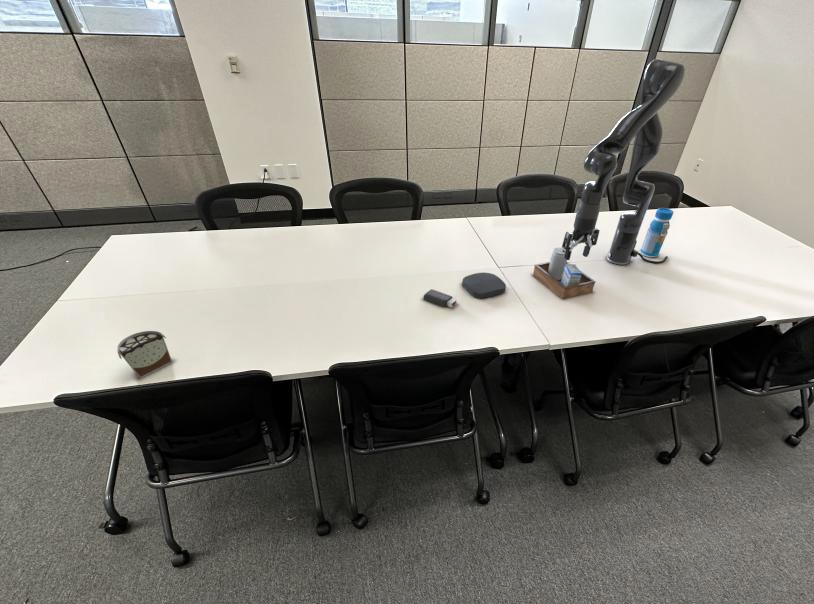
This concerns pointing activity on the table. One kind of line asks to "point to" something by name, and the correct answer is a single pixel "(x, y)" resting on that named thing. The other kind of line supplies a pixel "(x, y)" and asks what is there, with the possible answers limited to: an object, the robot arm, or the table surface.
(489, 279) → the media streaming box
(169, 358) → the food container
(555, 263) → the beverage can
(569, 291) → the wooden tray
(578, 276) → the medicine box
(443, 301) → the usb drive
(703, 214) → the table surface
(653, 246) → the beverage bottle
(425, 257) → the table surface
